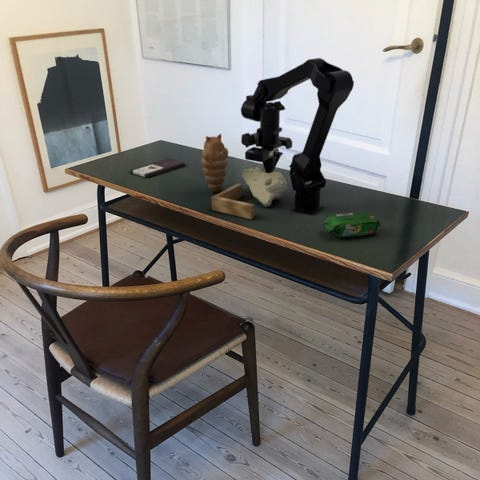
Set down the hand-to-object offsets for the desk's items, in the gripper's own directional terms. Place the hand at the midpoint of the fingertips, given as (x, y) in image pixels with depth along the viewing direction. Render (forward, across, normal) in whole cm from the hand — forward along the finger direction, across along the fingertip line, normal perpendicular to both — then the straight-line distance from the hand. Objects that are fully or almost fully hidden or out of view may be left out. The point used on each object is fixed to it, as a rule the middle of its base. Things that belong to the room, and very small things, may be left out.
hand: (268, 176), depth 165 cm
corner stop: (+6, +14, 0) cm, 15 cm away
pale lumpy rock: (+6, +6, 0) cm, 8 cm away
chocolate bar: (+6, -1, -47) cm, 48 cm away
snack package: (+5, +15, +35) cm, 38 cm away
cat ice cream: (+6, +8, -15) cm, 18 cm away
